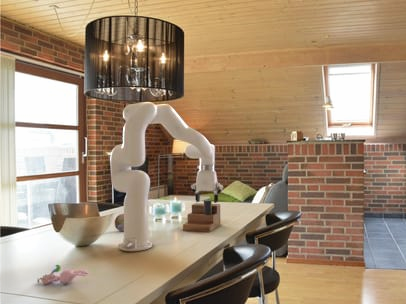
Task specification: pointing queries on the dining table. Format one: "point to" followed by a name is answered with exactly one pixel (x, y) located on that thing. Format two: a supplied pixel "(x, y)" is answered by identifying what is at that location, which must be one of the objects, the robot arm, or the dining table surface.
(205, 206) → the cylinder
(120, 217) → the tin
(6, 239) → the dining table surface
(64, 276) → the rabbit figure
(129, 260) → the dining table surface
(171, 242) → the dining table surface
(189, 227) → the step rack
